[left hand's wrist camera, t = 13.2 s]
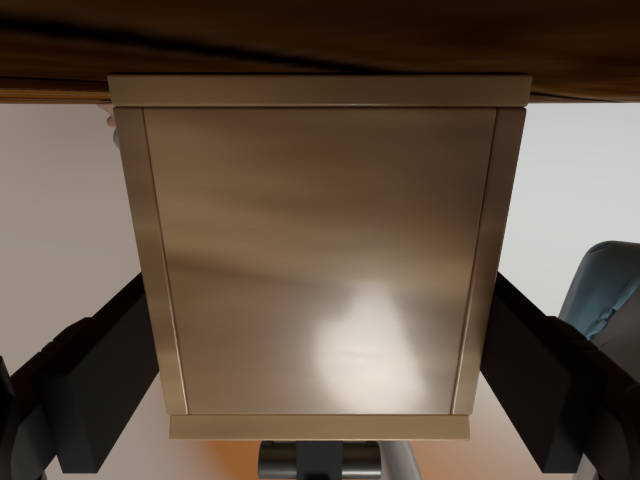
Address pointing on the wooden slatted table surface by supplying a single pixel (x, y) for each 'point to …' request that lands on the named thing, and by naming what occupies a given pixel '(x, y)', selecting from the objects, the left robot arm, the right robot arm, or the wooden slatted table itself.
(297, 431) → the lid
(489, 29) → the wooden slatted table surface
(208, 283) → the chest
